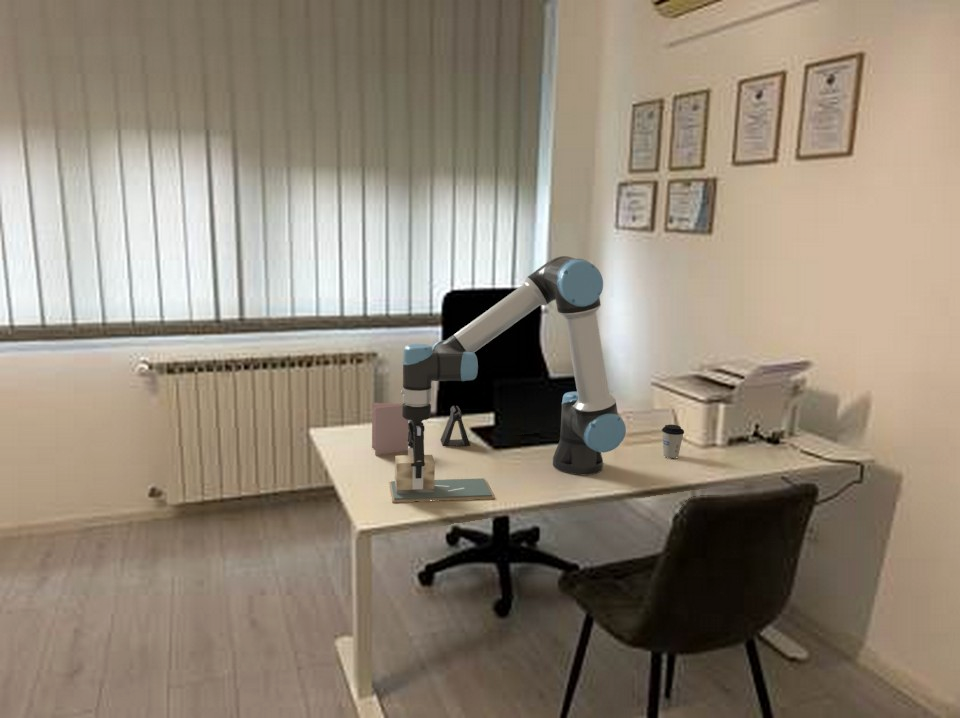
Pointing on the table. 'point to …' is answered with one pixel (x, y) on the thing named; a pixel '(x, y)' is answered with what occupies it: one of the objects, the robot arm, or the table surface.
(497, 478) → the table surface
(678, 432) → the coffee cup
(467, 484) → the chalkboard
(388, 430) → the greeting card
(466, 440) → the phone stand
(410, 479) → the eraser block
